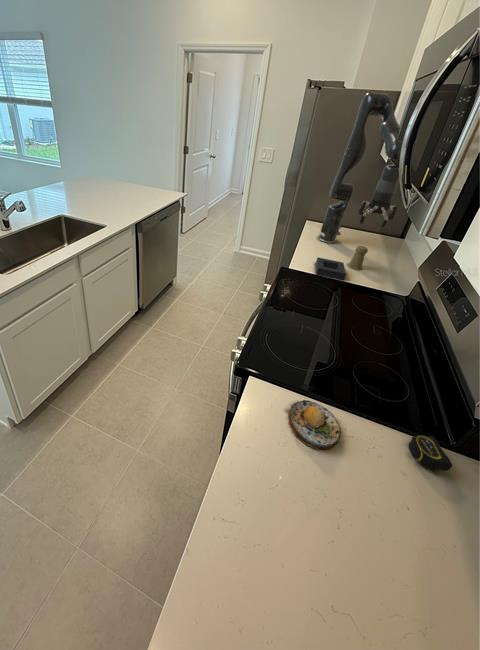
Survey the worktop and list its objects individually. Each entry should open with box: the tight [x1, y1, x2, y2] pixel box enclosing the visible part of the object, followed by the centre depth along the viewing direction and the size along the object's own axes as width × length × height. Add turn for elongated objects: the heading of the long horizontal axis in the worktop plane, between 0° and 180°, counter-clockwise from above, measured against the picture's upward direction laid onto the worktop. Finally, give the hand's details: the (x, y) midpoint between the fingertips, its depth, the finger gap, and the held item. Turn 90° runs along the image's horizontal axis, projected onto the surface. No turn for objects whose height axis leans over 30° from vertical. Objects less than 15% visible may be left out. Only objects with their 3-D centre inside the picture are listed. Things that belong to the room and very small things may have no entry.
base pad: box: [315, 257, 347, 281], centre depth 145 cm, size 12×12×4 cm
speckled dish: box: [287, 399, 342, 451], centre depth 72 cm, size 12×12×8 cm
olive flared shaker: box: [347, 245, 368, 271], centre depth 150 cm, size 6×6×11 cm
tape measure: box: [408, 434, 453, 471], centre depth 69 cm, size 7×7×4 cm
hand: (371, 225), depth 142 cm, fingers open, 8 cm apart
